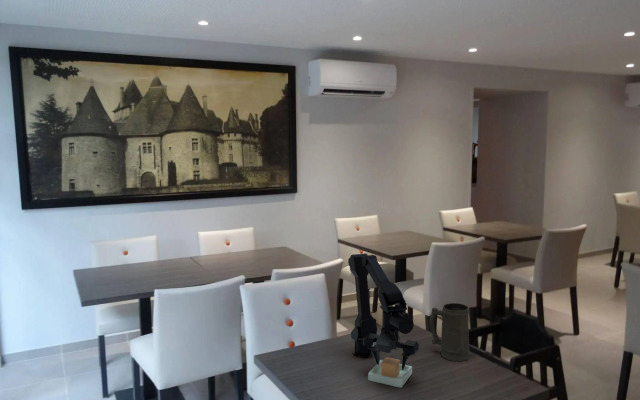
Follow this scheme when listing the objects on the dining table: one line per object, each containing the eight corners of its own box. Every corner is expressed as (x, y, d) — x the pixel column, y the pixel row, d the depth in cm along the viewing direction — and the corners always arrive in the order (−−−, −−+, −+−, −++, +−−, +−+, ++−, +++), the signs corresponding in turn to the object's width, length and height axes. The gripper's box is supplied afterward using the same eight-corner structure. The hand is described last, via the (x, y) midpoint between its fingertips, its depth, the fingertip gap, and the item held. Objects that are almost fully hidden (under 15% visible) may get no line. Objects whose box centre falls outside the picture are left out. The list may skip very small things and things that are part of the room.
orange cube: (381, 376, 167) (381, 362, 167) (386, 370, 172) (386, 357, 171) (394, 379, 165) (394, 365, 164) (399, 373, 169) (399, 359, 169)
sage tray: (368, 380, 166) (368, 373, 166) (380, 366, 176) (380, 360, 176) (401, 387, 160) (401, 380, 160) (412, 373, 171) (412, 366, 171)
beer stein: (472, 352, 188) (469, 302, 187) (471, 363, 178) (468, 310, 177) (432, 349, 193) (429, 301, 192) (429, 360, 183) (426, 309, 182)
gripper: (356, 327, 164) (356, 370, 165) (409, 336, 155) (409, 382, 157) (369, 317, 174) (369, 358, 175) (419, 325, 165) (419, 368, 166)
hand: (390, 367), depth 168 cm, fingers open, 9 cm apart
